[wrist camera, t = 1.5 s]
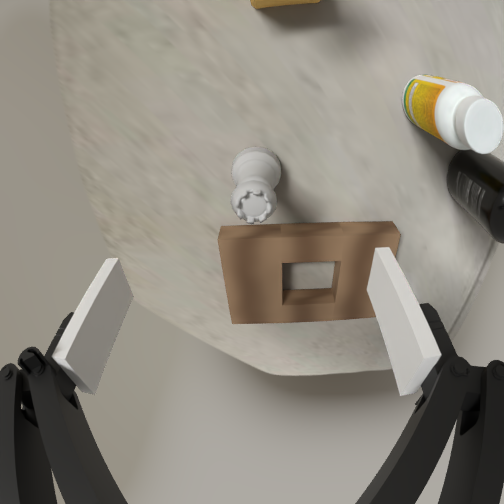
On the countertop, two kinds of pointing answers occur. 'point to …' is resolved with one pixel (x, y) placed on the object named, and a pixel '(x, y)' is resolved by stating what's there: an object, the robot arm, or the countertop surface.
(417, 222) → the countertop surface
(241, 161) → the rook chess piece
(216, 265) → the countertop surface
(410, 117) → the supplement bottle
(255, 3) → the rubber stamp
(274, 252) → the walnut socket board
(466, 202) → the supplement bottle
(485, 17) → the countertop surface
